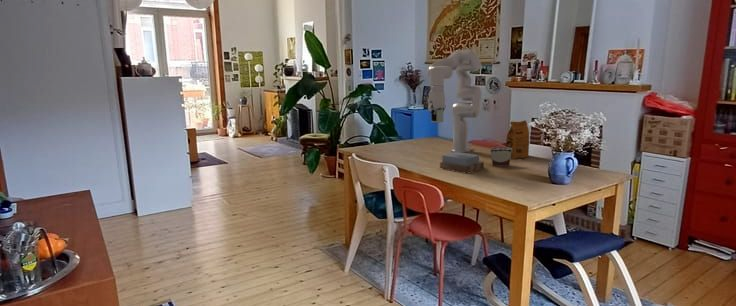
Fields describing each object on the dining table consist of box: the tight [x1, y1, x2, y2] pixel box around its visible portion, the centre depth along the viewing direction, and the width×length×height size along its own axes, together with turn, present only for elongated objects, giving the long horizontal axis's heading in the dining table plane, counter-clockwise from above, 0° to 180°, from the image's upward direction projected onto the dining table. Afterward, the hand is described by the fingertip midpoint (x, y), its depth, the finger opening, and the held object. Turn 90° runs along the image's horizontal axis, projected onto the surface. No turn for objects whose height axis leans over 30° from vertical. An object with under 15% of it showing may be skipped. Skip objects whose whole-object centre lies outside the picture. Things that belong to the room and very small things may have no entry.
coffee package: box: [505, 120, 530, 160], centre depth 285 cm, size 10×12×22 cm
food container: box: [489, 146, 513, 167], centre depth 268 cm, size 12×6×10 cm, turn 84°
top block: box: [441, 152, 480, 166], centre depth 263 cm, size 12×16×4 cm
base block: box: [439, 160, 485, 174], centre depth 264 cm, size 16×18×4 cm
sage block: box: [430, 109, 444, 124], centre depth 273 cm, size 5×5×7 cm
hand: (437, 120), depth 273 cm, fingers closed on sage block, 5 cm apart
